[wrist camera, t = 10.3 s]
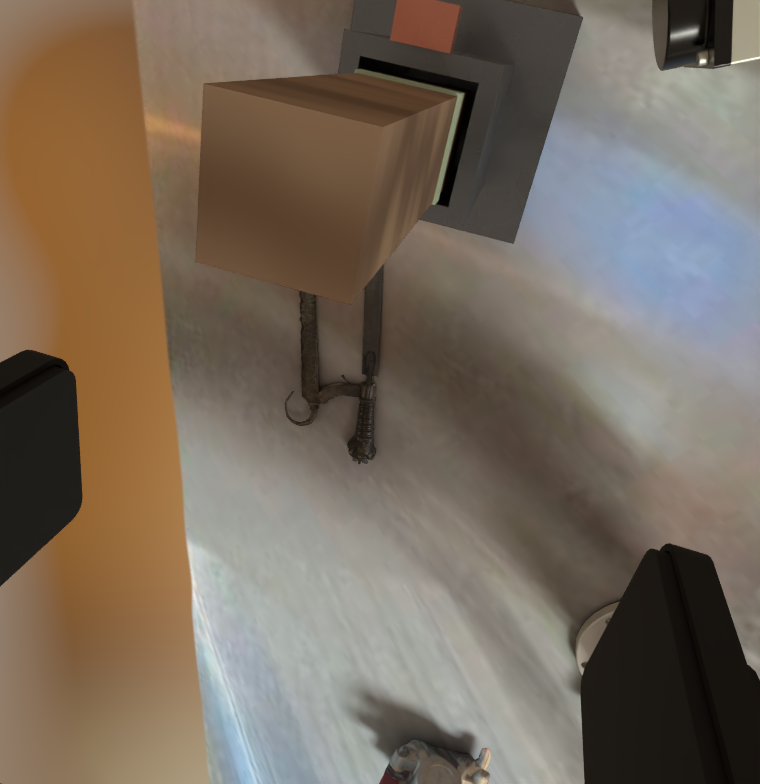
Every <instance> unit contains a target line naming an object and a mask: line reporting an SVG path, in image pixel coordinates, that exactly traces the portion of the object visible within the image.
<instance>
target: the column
mask: <svg viewBox="0 0 760 784" xmlns="http://www.w3.org/2000/svg"><path fill="white" fill-rule="evenodd" d="M470 94H471V91H470V90H466V89H462V88H458V87H453V86H449V85H445V84H440V83H436V82H432V81H427V80H423V79H419V78H415V77H410V76H406V75H402V74H397V73H393V72H389V71H376V72H372V71H368V70H364V69H355V72H354V73H347V74H333V75H318V76H304V77H290V78H276V79H261V80H247V81H233V82H219V83H204V86H203V109H202V131H201V154H200V176H199V198H198V221H197V243H196V262H198V263H202V264H205V265H209V266H213V267H216V268H220V269H223V270H227V271H231V272H234V273H238V274H241V275H245V276H249V277H252V278H256V279H260V280H263V281H267V282H270V283H274V284H278V285H281V286H285V287H288V288H292V289H296V290H299V291H303V292H306V293H310V294H314V295H317V296H321V297H325V298H328V299H332V300H335V301H339V302H343V303H346V304H350V305H351V304H352V303H353V301H354V300H355V299H356V298H357V296H358V295H359V294H360V293H361V291H362V290H363V289H364V288H365V286H366V285H367V284H368V283H369V281H370V280H371V279H372V278H373V276H374V275H375V274H376V273H377V271H378V270H379V269H380V268H381V266H382V265H383V264H384V263H385V261H386V260H387V259H388V258H389V256H390V255H391V254H392V253H393V251H394V250H395V249H396V248H397V246H398V245H399V244H400V243H401V241H402V240H403V239H404V238H405V236H406V235H407V234H408V233H409V231H410V230H411V229H412V228H413V226H414V225H415V224H416V223H417V221H418V220H419V219H420V218H421V216H422V215H423V214H424V213H425V211H426V210H427V209H428V208H429V206H430V205H431V204H433V205H435V204H436V203H437V202H438V200H439V196H440V193H441V191H442V190H443V189H444V188H445V186H446V185H447V184H448V183H449V181H450V177H451V173H452V169H453V165H454V161H455V156H456V152H457V148H458V144H459V140H460V136H461V132H462V127H463V123H464V119H465V115H466V111H467V107H468V103H469V99H470Z"/></svg>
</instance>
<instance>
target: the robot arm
mask: <svg viewBox="0 0 760 784" xmlns="http://www.w3.org/2000/svg"><path fill="white" fill-rule="evenodd" d="M81 503H82V483H81V464H80V446H79V429H78V412H77V394H76V379H75V376H74V374H73V373H72V372H71V371H69V367H68V365H67V363H66V362H65V361H64V360H62V359H59V358H56V357H53V356H50V355H47V354H43V353H40V352H37V351H33V350H25V351H22V352H20V353H18V354H16V355H14V356H12V357H10V358H8V359H6V360H4V361H2V362H1V363H0V586H1V585H2V584H3V583H4V582H5V581H7V580H8V579H9V578H10V577H11V576H12V575H13V574H14V573H15V572H16V571H17V570H19V569H20V568H21V567H22V566H23V565H24V564H25V563H26V562H27V561H28V560H29V559H30V558H32V557H33V556H34V555H35V554H36V553H37V552H38V551H39V550H40V549H41V548H42V547H43V546H44V545H46V544H47V543H48V542H49V541H50V540H51V539H52V538H53V537H54V536H55V535H56V534H58V533H59V532H60V531H61V530H62V529H63V528H64V527H65V526H66V525H67V524H68V523H69V522H71V520H72V519H73V518H74V517H75V516H76V514H77V513H78V511H79V509H80V507H81ZM575 652H576V663H577V666H578V669H579V671H580V673H581V675H582V680H581V713H582V734H583V756H584V778H585V784H760V680H759V678H758V676H757V674H756V672H755V671H754V670H753V669H752V668H751V667H750V666H749V665H747V663H746V660H745V656H744V653H743V650H742V647H741V644H740V641H739V638H738V635H737V632H736V629H735V626H734V623H733V620H732V617H731V614H730V611H729V608H728V605H727V602H726V599H725V596H724V593H723V590H722V587H721V584H720V581H719V578H718V575H717V572H716V569H715V566H714V563H713V561H712V559H711V557H709V556H708V555H706V554H703V553H699V552H696V551H693V550H690V549H686V548H683V547H680V546H676V545H673V544H670V543H669V544H665V545H664V546H663V547H662V548H661V549H660V551H658V550H655V549H649V550H648V551H647V552H646V554H645V555H644V557H643V559H642V561H641V563H640V565H639V567H638V568H637V570H636V572H635V574H634V576H633V578H632V580H631V582H630V583H629V585H628V587H627V589H626V591H625V593H624V595H623V597H622V598H621V600H620V601H619V602H616V603H614V604H611V605H608V606H606V607H604V608H602V609H601V610H599V611H597V612H595V613H594V614H593V615H592V616H591V617H590V618H589V619H587V620H586V621H585V623H584V624H583V626H582V627H581V628H580V630H579V633H578V635H577V638H576V646H575ZM0 784H1V783H0Z"/></svg>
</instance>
